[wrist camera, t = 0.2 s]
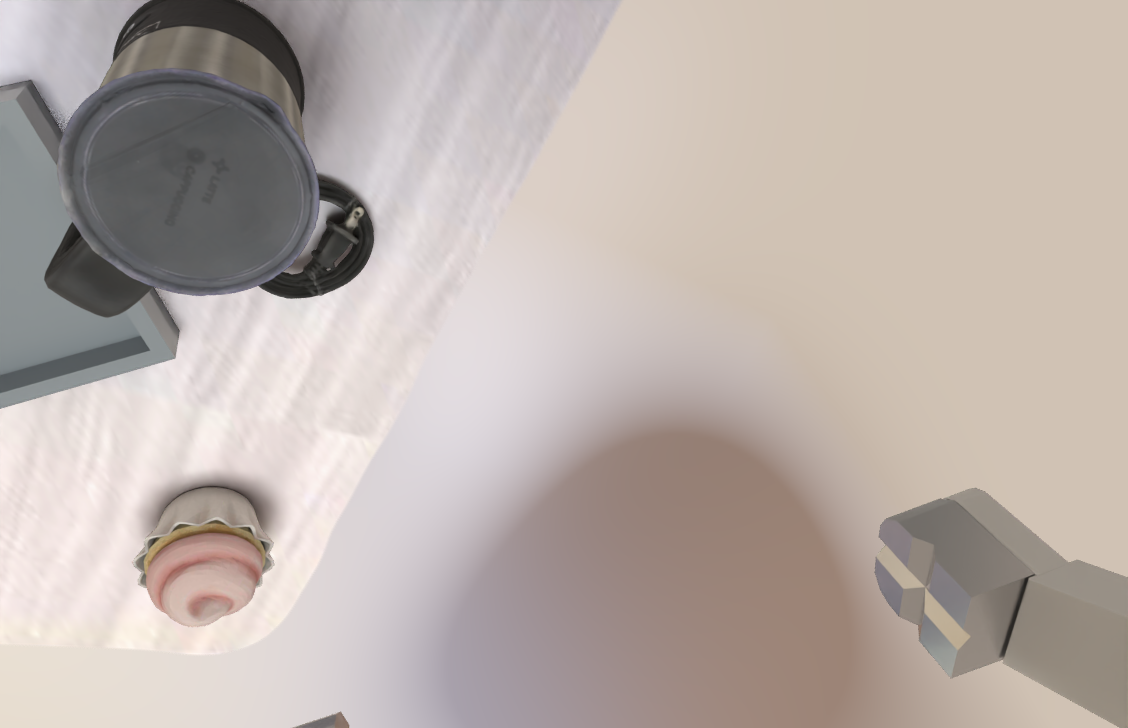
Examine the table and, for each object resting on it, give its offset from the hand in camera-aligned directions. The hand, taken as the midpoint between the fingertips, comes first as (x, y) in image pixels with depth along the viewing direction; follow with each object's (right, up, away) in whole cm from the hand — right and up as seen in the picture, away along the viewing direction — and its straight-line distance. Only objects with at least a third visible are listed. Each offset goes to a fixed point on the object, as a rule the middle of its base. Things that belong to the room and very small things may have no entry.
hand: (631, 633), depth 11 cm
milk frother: (-18, +16, +32) cm, 40 cm away
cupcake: (-28, -7, +46) cm, 55 cm away
